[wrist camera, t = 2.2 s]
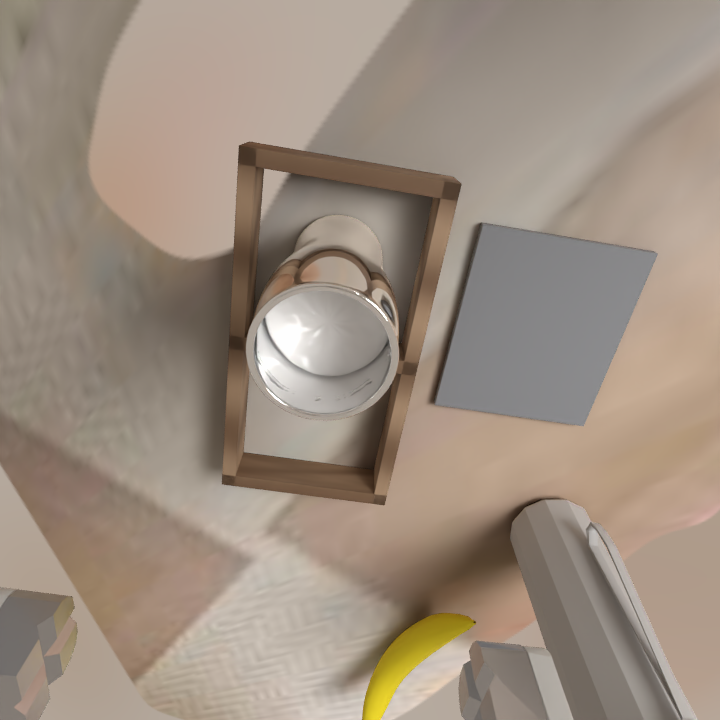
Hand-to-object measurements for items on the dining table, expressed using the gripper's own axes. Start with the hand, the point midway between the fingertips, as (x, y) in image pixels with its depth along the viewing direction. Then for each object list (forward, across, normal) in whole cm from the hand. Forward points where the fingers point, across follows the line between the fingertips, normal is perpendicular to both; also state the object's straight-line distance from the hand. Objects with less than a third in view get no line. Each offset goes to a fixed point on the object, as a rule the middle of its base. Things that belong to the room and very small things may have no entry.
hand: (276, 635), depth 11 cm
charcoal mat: (+28, -15, +3) cm, 32 cm away
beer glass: (+28, 0, 0) cm, 28 cm away
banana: (+28, -13, +37) cm, 49 cm away
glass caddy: (+28, 0, +6) cm, 28 cm away
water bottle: (+28, -22, +20) cm, 41 cm away
